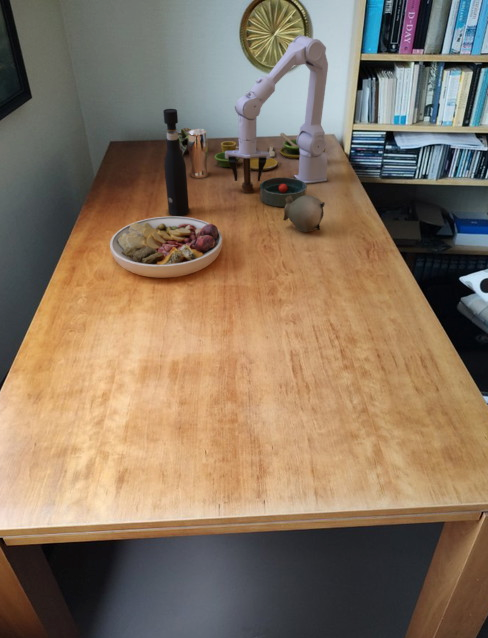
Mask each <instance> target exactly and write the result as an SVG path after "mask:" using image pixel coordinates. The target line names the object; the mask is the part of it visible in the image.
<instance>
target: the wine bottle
mask: <svg viewBox="0 0 488 638" xmlns="http://www.w3.org/2000/svg"><path fill="white" fill-rule="evenodd" d="M163 123H164V124H165V125H166V128H167V129H166V130H167V131H166V139H165V140H166V152H165V157H164V165H163V166H164V168H163V169H164V176H165V177H164V178H165V187H166V188H165V189H166V199H167V206H168V214H169V215H170V216H179V217H185V216H187V215H188V214H189V213H190V207H189V206H190V204H189V191H188V178H187V165H186V161H185V158H184V154H183V155H182V149H181V147H180V144H179V138H178V131H177V124H178V123H179V118H178V109H176V108H166V109H163Z"/></svg>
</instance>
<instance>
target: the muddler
mask: <svg viewBox="0 0 488 638" xmlns="http://www.w3.org/2000/svg"><path fill="white" fill-rule="evenodd" d="M242 159H243V182H242V183H241V191H242V193H244V194H251V193H253V192H254V183H253V182H252V181H251V178H252V177H251V169H250V158H242Z"/></svg>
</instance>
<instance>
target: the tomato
mask: <svg viewBox="0 0 488 638" xmlns="http://www.w3.org/2000/svg"><path fill="white" fill-rule="evenodd" d="M279 191H280V192H281V193H285V192H286V191H287V185H286V184H281V185H280V186H279Z"/></svg>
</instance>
